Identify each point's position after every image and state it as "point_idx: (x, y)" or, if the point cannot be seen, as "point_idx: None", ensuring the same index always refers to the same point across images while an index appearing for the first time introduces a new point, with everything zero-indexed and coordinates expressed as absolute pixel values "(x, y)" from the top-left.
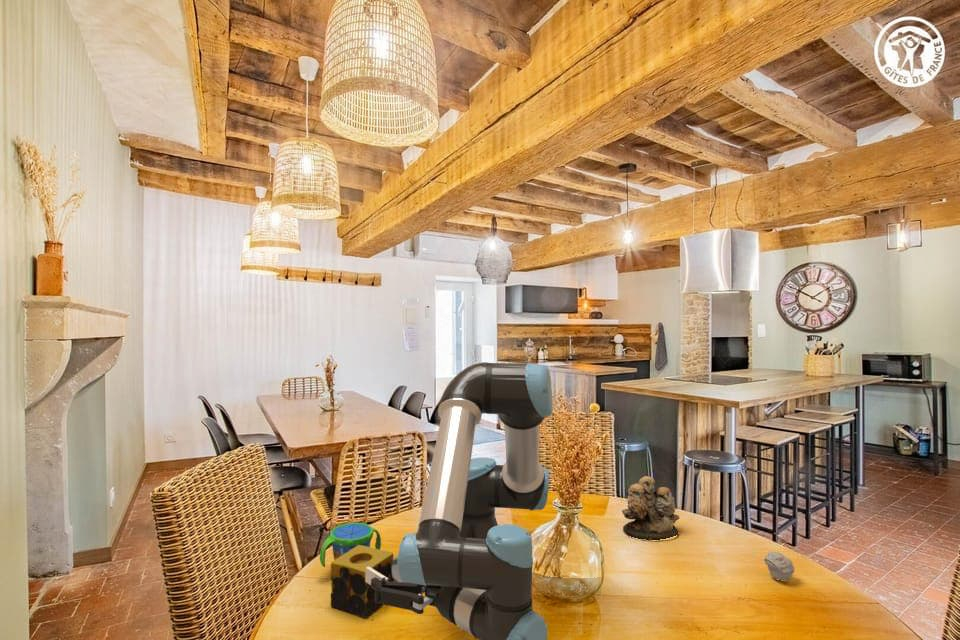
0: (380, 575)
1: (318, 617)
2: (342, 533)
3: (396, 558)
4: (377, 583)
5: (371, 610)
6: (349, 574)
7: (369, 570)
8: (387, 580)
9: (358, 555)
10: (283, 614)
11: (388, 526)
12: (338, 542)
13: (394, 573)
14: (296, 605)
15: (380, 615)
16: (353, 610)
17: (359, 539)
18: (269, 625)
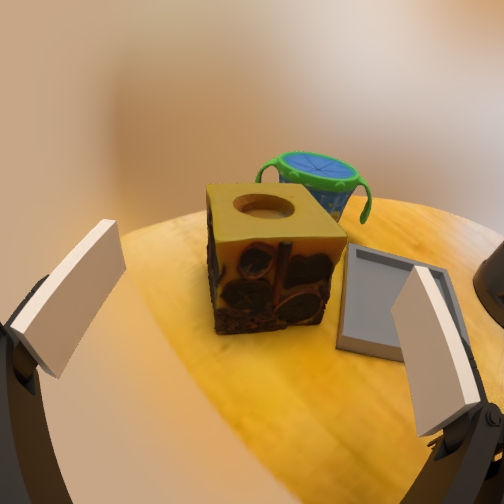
0: (45, 289)
1: (172, 269)
2: (304, 162)
3: (382, 254)
4: (18, 312)
5: (237, 327)
6: (209, 225)
7: (86, 237)
8: (26, 339)
9: (275, 199)
10: (155, 234)
11: (407, 209)
12: (279, 168)
13: (355, 280)
14: (182, 232)
15: (247, 350)
16: (213, 300)
17: (314, 177)
18: (126, 238)
